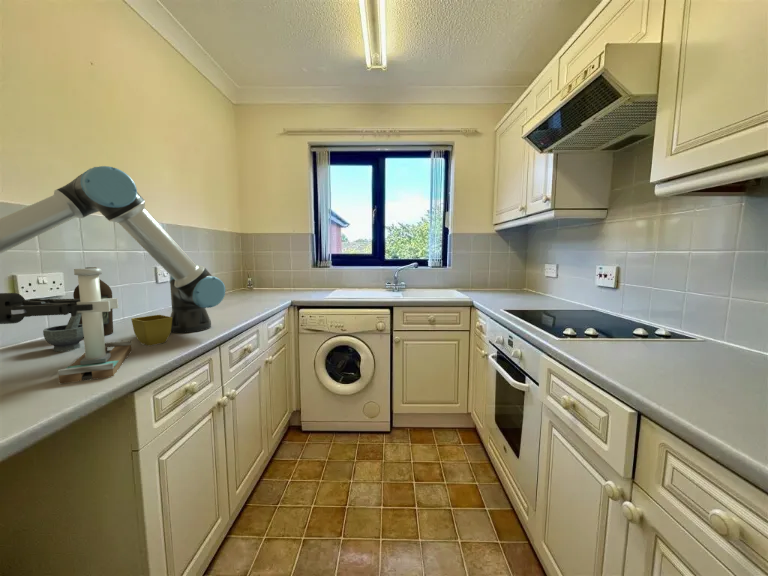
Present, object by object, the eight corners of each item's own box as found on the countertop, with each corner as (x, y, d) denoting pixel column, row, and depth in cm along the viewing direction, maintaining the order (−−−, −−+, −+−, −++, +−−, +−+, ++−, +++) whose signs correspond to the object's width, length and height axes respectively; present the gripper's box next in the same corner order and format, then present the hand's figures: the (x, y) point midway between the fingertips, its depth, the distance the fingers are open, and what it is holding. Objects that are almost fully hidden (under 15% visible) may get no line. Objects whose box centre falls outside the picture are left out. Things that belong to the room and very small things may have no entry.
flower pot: (161, 338, 115) (159, 314, 114) (174, 342, 111) (172, 316, 110) (132, 344, 108) (130, 318, 107) (145, 349, 103) (143, 321, 102)
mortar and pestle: (68, 353, 98) (64, 314, 97) (36, 353, 97) (31, 314, 96) (98, 342, 109) (95, 308, 108) (69, 343, 109) (66, 308, 107)
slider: (111, 356, 89) (103, 268, 86) (106, 362, 84) (98, 269, 82) (86, 359, 86) (77, 268, 84) (80, 365, 82) (70, 269, 79)
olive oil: (76, 334, 120) (69, 267, 117) (113, 329, 127) (108, 266, 124) (78, 340, 112) (71, 268, 109) (117, 334, 120) (111, 267, 117)
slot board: (132, 350, 102) (131, 340, 101) (113, 376, 81) (112, 364, 80) (90, 354, 97) (89, 344, 96) (59, 383, 76) (57, 370, 76)
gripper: (23, 317, 86) (128, 312, 94) (-34, 332, 70) (98, 325, 78) (20, 289, 85) (126, 287, 93) (-39, 298, 69) (95, 294, 77)
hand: (113, 304), depth 85 cm, fingers closed on slider, 4 cm apart
